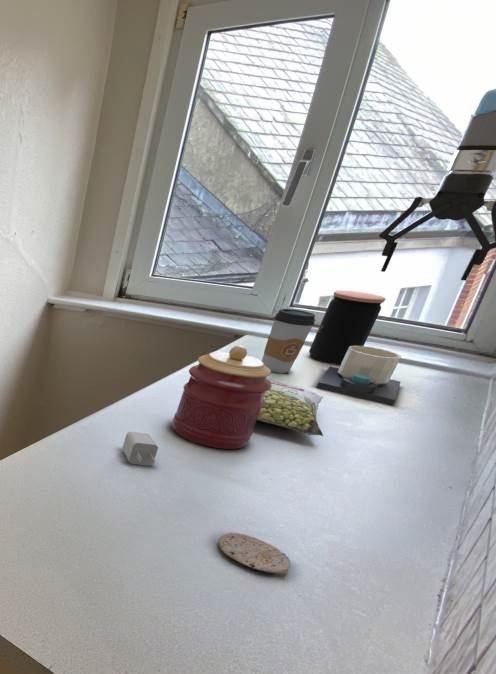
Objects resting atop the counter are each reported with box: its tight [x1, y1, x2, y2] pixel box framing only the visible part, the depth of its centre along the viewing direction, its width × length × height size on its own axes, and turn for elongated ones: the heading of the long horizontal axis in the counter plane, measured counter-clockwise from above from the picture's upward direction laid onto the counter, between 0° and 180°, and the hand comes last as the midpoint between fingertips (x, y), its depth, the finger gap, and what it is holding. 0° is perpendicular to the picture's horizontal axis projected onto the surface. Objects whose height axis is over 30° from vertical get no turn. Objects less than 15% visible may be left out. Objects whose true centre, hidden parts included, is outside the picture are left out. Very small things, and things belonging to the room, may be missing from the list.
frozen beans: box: [257, 380, 324, 437], centre depth 115 cm, size 21×6×25 cm
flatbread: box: [218, 532, 291, 575], centre depth 71 cm, size 8×8×1 cm
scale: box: [316, 366, 401, 406], centre depth 132 cm, size 14×19×3 cm
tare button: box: [351, 374, 371, 385], centre depth 127 cm, size 3×3×2 cm
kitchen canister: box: [172, 345, 272, 450], centre depth 101 cm, size 13×13×18 cm
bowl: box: [338, 345, 402, 385], centre depth 133 cm, size 10×10×7 cm
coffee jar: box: [308, 290, 386, 366], centre depth 149 cm, size 11×11×18 cm
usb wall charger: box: [121, 431, 159, 466], centre depth 93 cm, size 4×7×4 cm, turn 169°
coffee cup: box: [261, 308, 316, 374], centre depth 140 cm, size 8×8×15 cm
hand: (421, 275), depth 126 cm, fingers open, 13 cm apart
